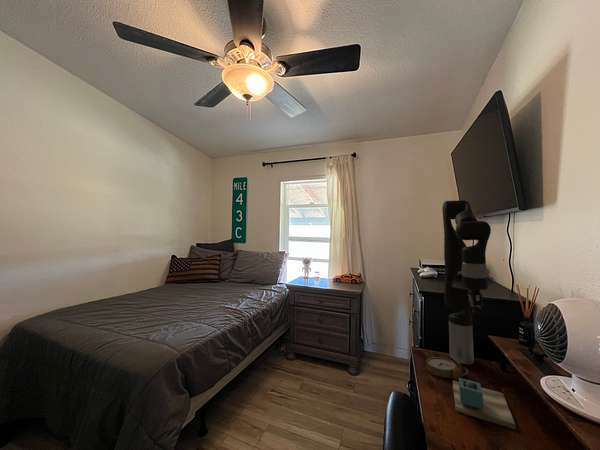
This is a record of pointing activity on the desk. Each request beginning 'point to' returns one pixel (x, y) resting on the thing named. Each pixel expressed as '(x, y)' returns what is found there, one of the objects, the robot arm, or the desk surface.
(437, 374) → the alarm clock
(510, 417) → the post board
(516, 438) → the desk surface
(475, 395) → the teal square frame
